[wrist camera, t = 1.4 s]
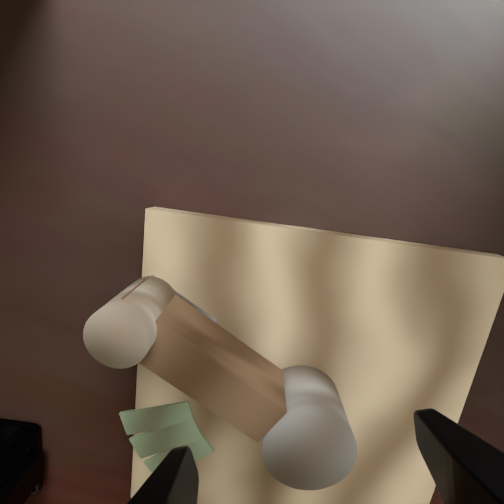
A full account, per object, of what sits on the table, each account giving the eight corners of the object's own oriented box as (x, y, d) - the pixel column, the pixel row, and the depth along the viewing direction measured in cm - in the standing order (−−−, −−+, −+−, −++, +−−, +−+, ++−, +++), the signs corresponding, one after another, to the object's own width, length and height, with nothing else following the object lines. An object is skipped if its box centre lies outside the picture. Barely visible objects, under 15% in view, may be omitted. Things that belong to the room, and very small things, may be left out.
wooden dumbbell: (354, 394, 19) (385, 465, 14) (304, 443, 20) (318, 525, 15) (156, 251, 18) (116, 277, 13) (113, 312, 19) (60, 359, 14)
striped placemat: (125, 477, 24) (116, 498, 22) (137, 204, 19) (126, 206, 17) (408, 515, 24) (418, 539, 22) (495, 253, 19) (517, 260, 17)
